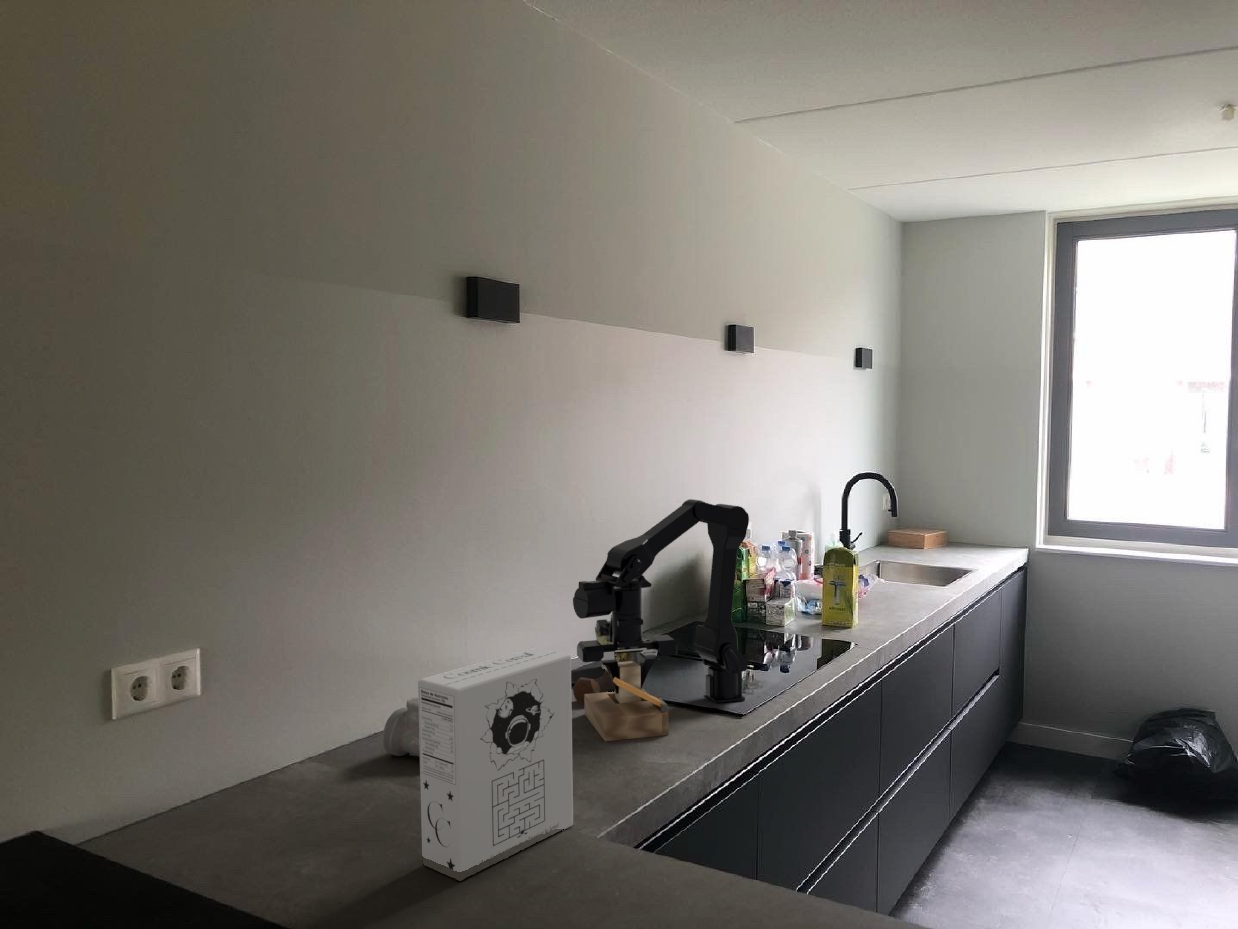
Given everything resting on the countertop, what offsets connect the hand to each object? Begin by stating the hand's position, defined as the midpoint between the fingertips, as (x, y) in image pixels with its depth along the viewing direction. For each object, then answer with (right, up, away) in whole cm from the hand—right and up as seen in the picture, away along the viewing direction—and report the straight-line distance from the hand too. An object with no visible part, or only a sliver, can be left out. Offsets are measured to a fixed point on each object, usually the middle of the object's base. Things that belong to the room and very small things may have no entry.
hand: (627, 692), depth 189 cm
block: (-1, -5, -3) cm, 6 cm away
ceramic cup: (-2, -3, +35) cm, 35 cm away
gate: (+2, +1, -8) cm, 8 cm away
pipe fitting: (-35, -7, -20) cm, 41 cm away
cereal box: (-18, -9, -54) cm, 57 cm away
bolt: (-5, -5, +16) cm, 17 cm away
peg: (0, -2, 0) cm, 2 cm away
